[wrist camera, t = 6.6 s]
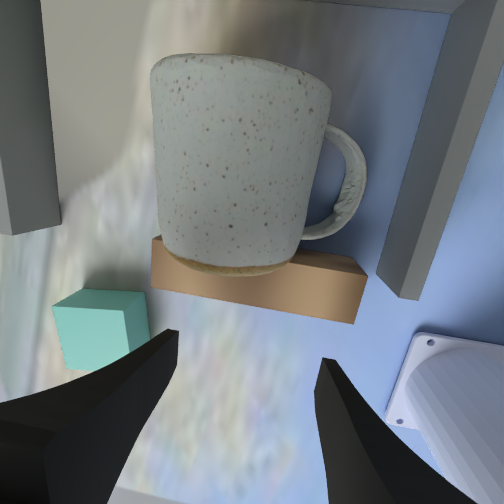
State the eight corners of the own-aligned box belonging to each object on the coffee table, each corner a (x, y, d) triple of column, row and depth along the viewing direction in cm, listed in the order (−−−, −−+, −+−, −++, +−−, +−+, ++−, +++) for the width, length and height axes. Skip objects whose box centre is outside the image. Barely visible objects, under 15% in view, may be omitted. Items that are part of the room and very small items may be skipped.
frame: (480, -10, 12) (553, -78, 9) (391, 276, 17) (418, 300, 14) (18, -49, 14) (-64, -119, 11) (47, 222, 18) (-4, 232, 15)
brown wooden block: (351, 256, 17) (368, 276, 14) (340, 296, 18) (353, 324, 15) (176, 227, 18) (152, 239, 15) (174, 267, 19) (150, 287, 15)
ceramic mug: (186, 234, 18) (123, 277, 10) (188, 99, 15) (106, 30, 8) (343, 251, 17) (395, 309, 10) (371, 113, 15) (468, 52, 7)
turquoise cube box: (146, 290, 19) (123, 310, 17) (152, 347, 21) (132, 374, 18) (84, 287, 20) (51, 306, 17) (95, 342, 21) (66, 368, 19)
